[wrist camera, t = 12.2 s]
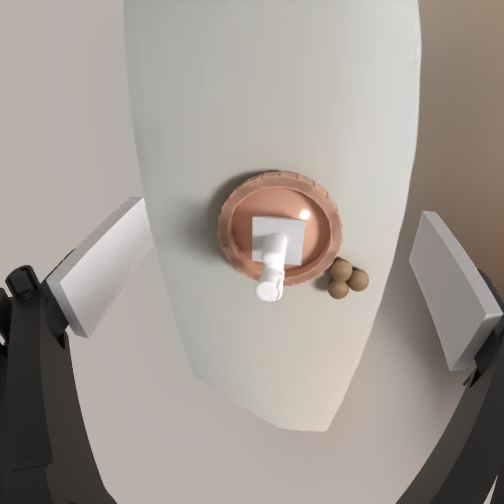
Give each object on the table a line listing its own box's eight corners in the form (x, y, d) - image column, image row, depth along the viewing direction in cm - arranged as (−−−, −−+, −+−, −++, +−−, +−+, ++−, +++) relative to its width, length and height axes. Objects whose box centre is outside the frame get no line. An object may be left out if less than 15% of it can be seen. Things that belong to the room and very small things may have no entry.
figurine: (255, 253, 48) (237, 320, 35) (256, 199, 43) (235, 254, 30) (300, 258, 47) (297, 326, 34) (306, 203, 42) (306, 260, 29)
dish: (217, 169, 42) (211, 174, 40) (346, 172, 39) (348, 178, 37) (226, 272, 52) (223, 282, 50) (334, 279, 49) (335, 289, 47)
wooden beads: (330, 254, 47) (332, 267, 44) (370, 256, 46) (374, 269, 43) (326, 289, 50) (327, 303, 47) (363, 290, 49) (366, 304, 46)
